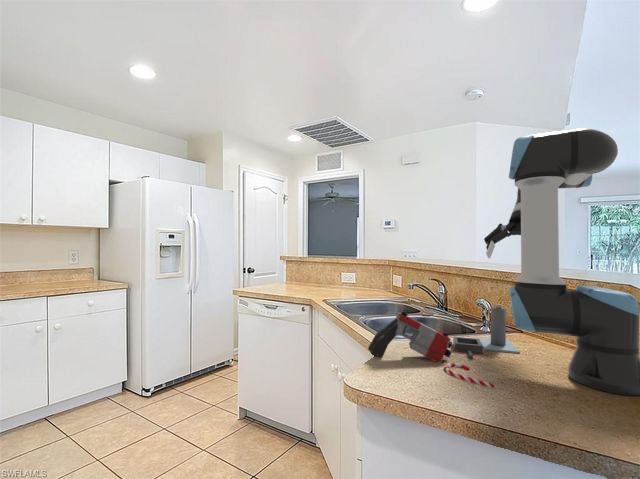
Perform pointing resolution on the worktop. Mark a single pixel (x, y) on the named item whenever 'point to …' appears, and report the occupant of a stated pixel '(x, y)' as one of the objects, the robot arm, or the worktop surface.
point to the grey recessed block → (468, 345)
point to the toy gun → (412, 338)
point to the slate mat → (490, 347)
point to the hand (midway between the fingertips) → (508, 256)
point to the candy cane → (483, 383)
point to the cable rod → (498, 325)
